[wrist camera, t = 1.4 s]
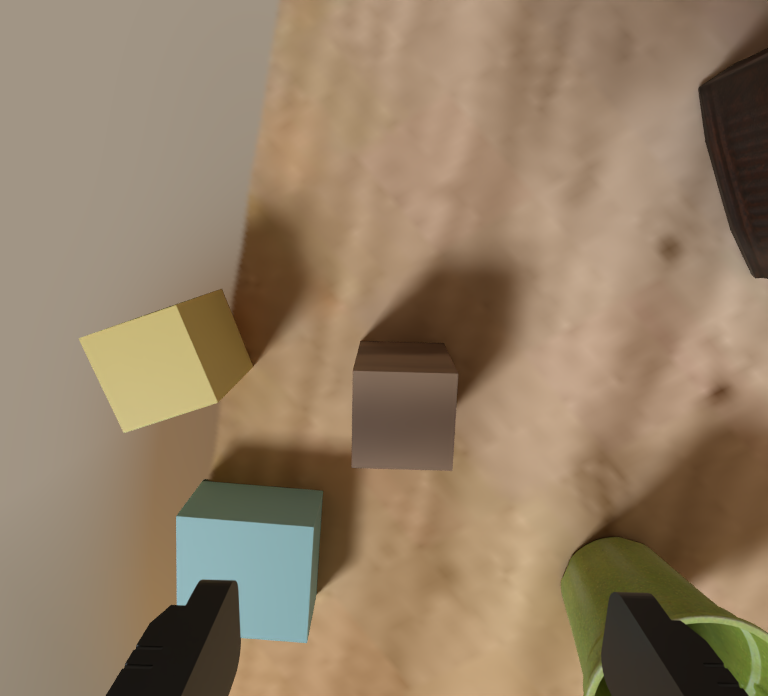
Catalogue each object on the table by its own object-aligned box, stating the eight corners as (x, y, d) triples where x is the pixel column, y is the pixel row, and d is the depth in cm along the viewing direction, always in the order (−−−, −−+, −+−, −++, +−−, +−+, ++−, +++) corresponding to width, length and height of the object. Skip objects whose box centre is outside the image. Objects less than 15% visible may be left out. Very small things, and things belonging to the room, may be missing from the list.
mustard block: (144, 315, 27) (78, 338, 22) (221, 288, 27) (175, 305, 21) (178, 391, 28) (123, 433, 23) (253, 366, 28) (217, 402, 22)
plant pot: (504, 553, 30) (548, 677, 22) (651, 481, 29) (757, 583, 21) (572, 667, 32) (637, 822, 24) (712, 603, 31) (834, 743, 23)
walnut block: (360, 340, 28) (353, 370, 22) (443, 343, 28) (458, 373, 22) (359, 419, 29) (351, 467, 23) (439, 421, 29) (452, 470, 23)
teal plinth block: (204, 478, 30) (176, 516, 26) (323, 488, 30) (313, 527, 26) (203, 582, 31) (177, 632, 27) (317, 591, 31) (306, 643, 28)
